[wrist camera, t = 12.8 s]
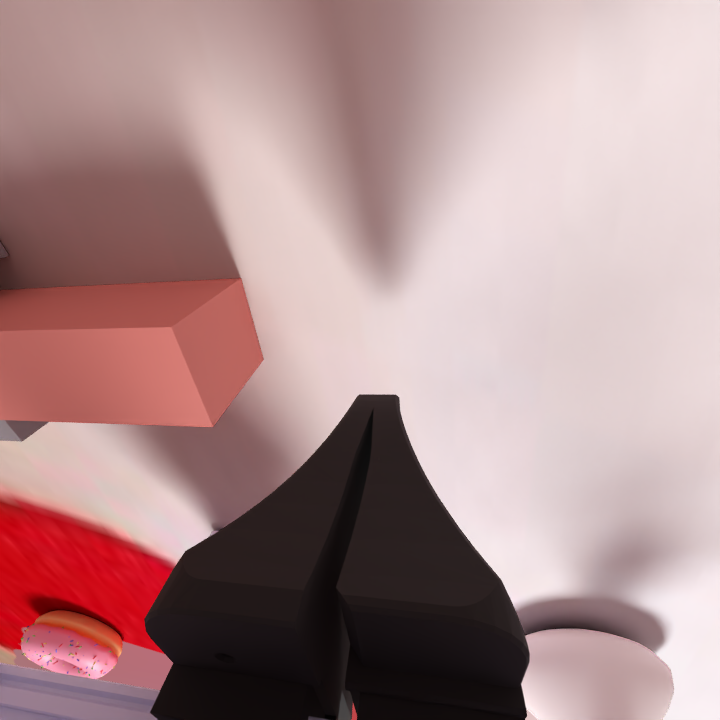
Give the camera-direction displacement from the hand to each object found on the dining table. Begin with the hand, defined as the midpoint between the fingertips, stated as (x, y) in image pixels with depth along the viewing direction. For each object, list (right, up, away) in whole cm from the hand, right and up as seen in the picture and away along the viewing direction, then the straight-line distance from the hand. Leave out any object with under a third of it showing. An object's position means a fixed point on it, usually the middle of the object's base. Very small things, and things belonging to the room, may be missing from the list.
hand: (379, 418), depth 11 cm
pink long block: (-14, +4, +5) cm, 16 cm away
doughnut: (-35, -31, +30) cm, 56 cm away
